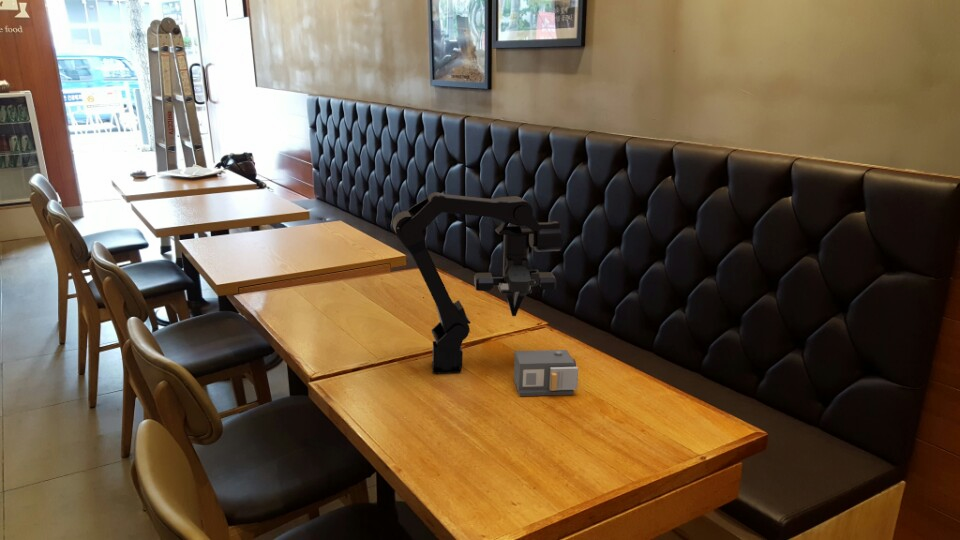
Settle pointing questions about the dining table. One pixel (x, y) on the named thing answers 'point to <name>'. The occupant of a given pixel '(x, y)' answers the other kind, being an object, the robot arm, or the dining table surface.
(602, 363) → the dining table surface
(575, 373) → the side door
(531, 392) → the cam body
